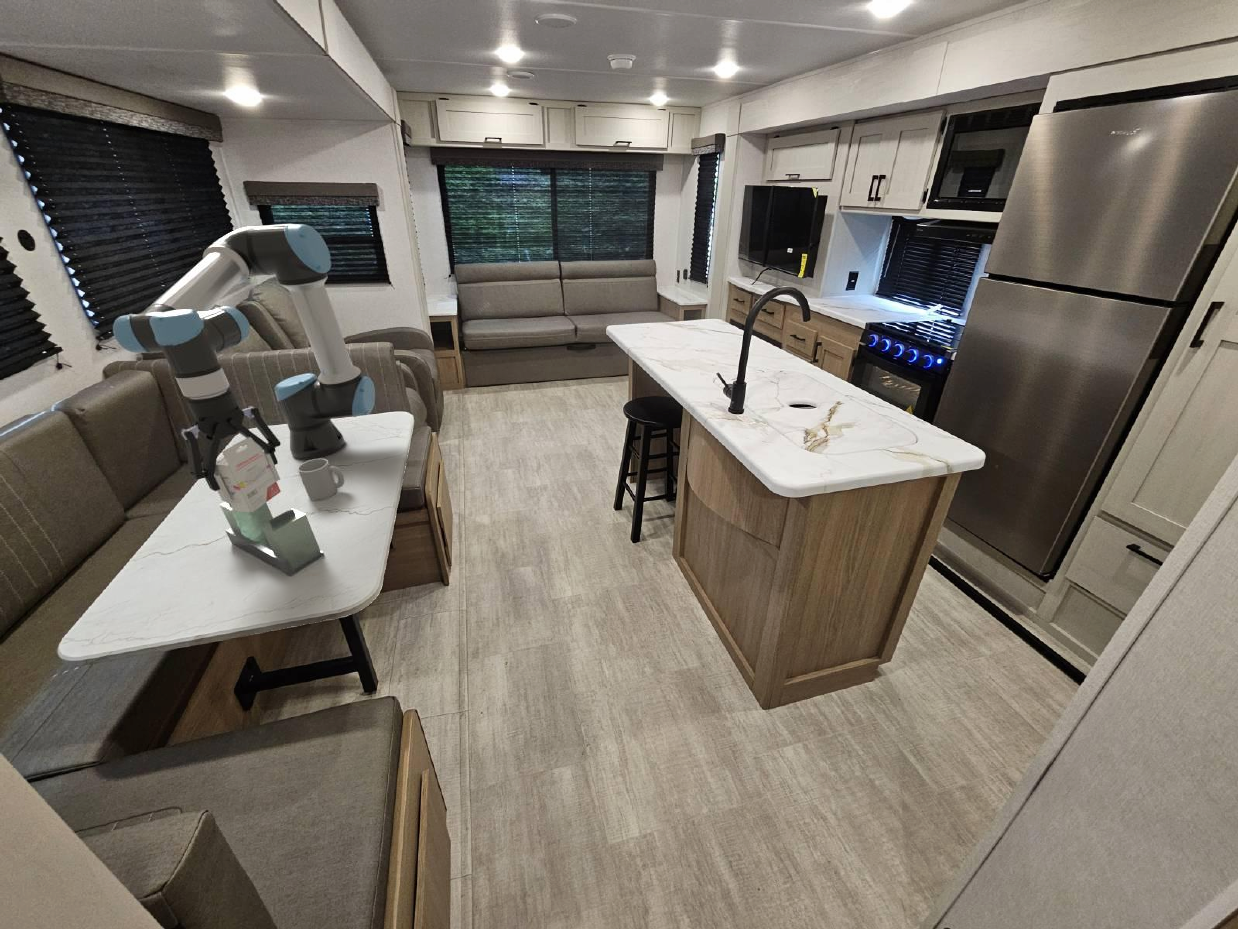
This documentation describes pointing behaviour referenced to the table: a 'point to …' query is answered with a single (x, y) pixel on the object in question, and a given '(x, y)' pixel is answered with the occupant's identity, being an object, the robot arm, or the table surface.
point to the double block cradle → (274, 537)
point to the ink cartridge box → (247, 476)
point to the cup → (320, 478)
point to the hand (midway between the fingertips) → (252, 489)
